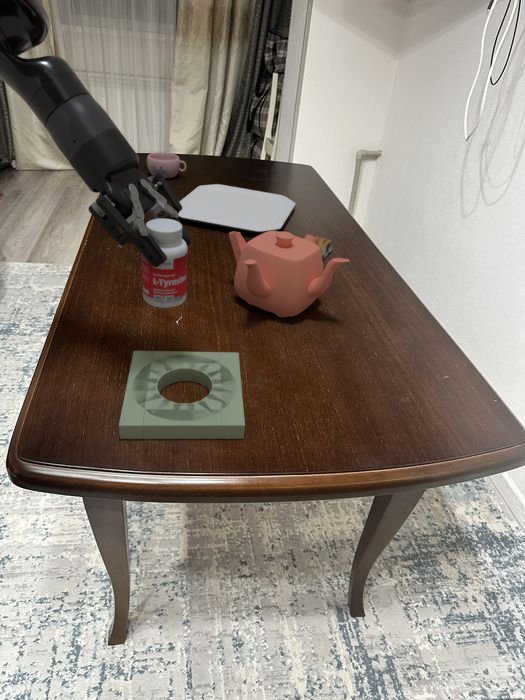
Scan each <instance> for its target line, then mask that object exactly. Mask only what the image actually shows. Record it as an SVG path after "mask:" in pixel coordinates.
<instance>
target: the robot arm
mask: <svg viewBox="0 0 525 700" xmlns="http://www.w3.org/2000/svg"><path fill="white" fill-rule="evenodd" d="M50 24H51V23H50V19H49V15H48V12H47V10H46V8H45V7H44V4H43V3H42V1H41V0H0V80H1V81H2V82H4V83H5V84H6V85H7V86H8V87H9V88H11V89H12V90H13V91H14V92H15V94H17V95H18V96H19V97H20V98H21V99H22V100H23V101H24V102H25V104H26V105H27V106H28V108H29V109H30V110H31V111H32V113H33V114H34V116H35V117H36V118H37V120H39V122H40V123H41V124H42V126H43V127H44V128H45V130H46V131H47V132H48V134H49V136H50V137H51V139H52V141H53V142H54V144H55V145H56V147H57V148H58V150H59V152H61V153H62V155H63V156H64V158H65V160H67V161H68V163H69V165H70V166H71V167H72V168H73V169H74V170H75V172H76V173H77V174H78V176H79V177H80V178H81V180H82V181H83V183H84V184H85V185H86V186H87V188H88V189H89V190H90V191H91V192H93V193H94V194H95V193H96V194H97V193H99V196H97V198H96V199H95V200H94V201H93V202H92V203H91V204H90V205H89V206H88V207H87V208H88V211H89V213H90V214H91V215H92V216H93V217H94V219H95V220H96V221H97V222H98V223H99V224H100V225H101V226H102V227H103V228H104V229H105V230H106V232H107V233H108V234H109V235H110V236H111V237H112V238H113V239H114V240H115V242H117V244H118V245H119V246H122V247H124V246H125V245H132V246H135V247H136V248H137V249H138V250H139V252H140V254H141V253H142V254H143V255H144V257H145V258H146V259H147V261H148V262H149V263H150V264H152V265H153V266H154V267H158V266H160V265H161V264H162V263H164V262H165V261H166V260H167V256H166V255H165V254H164V252H163V251H162V250H161V248H160V247H159V246H158V244H157V243H156V242H155V240H154V239H153V238H152V236H151V235H149V236H147V235H148V232H147V229H146V223H145V221H144V220H145V216H146V217H147V218H149V219H172V220H175V221H178V222H179V223H181V225H182V239H183V240H184V241H185V242H186V244H187V247H189V246H190V245H191V244H193V242H194V240H193V237H192V236H191V234H190V233H189V231H188V230H187V229H186V227H185V226H184V224H183V223H182V222H181V220H180V217H179V212H180V211H181V210H182V205H181V204H180V200H179V199H178V198H177V196H176V194H175V192H174V191H173V189H172V187H171V186H170V185H169V183H168V182H167V180H166V178H164V177H163V175H162V174H161V173H160V172H157V173H156V174H155V175H151V176H147V175H146V174H145V173H143V172H142V171H141V170H140V169H139V162H140V157H139V155H138V153H137V152H136V150H134V148H133V147H132V145H131V144H130V142H129V141H128V140H127V138H126V137H125V136H124V134H123V133H122V131H121V130H120V129H119V128H118V126H117V125H116V124H115V122H114V121H113V119H112V118H111V116H110V115H109V114H108V112H107V111H106V110H105V109H104V108H103V107H102V105H101V104H100V103H99V102H98V101H97V100H96V99H95V98H94V97H93V95H92V94H91V93H90V91H89V90H88V89H87V87H86V86H85V84H84V83H83V82H82V80H81V79H80V78H79V76H78V75H77V73H76V72H75V70H74V69H73V68H72V66H71V65H70V64H69V63H68V61H66V60H65V59H64V58H62V57H61V56H58V55H43V56H39V57H33V58H31V57H30V58H26V57H25V58H24V57H21V55H23V54H25V53H27V52H28V51H30V50H33V49H35V48H37V47H39V46H40V45H41V44H43V43H44V42H45V41H46V39H47V38H48V35H49V32H50V27H51V25H50ZM168 201H169V202H170V204H171V205H170V204H168V203H167V202H168ZM155 202H156V203H155ZM162 213H163V214H162ZM117 226H118V227H119V228H120V229H121V231H122V232H121V231H120V229H118V228H117Z"/></svg>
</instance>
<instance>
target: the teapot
mask: <svg viewBox="0 0 525 700" xmlns="http://www.w3.org/2000/svg"><path fill="white" fill-rule="evenodd" d="M304 236H305V238H304V239H302V238H300V237H301V236H297V235H294V233H291V232H289V231H280V230H277V231H268V232H263V233H260V234H259V235H257V236H255V237H253V238H252V239H250V240H248V241H247V242H246V240H245V238H244V237H243V235H242V234H241V231H235V230H233V231H230V232H229V233H228V237H229V242H230V244H231V248H232V251H233V254H234V258H235V262H236V268H235V271H234V279H233V286H234V289H235V292H236V294H237V296H238V297H239V298H240V299H242V300H243V301H245V302H246V303H247V304H248V305H250V306H254V307H256V308H259V309H261V310H263V311H267V312H270V313H273V314H275V316H277V317H279V318H287V317H295V316H297V315H299V314H301V313H302V312H303V311H305V310H306V309H307V308H308V307H310V306H311V305H312V304H313V303H314V302H315V301H316V300H317V299H318V298H319V296H322V295H323V294H324V293H325V292H326V291H327V290H328V289H329V287H330V285H331V283H332V280H333V277H334V274H335V273H336V270H337V269H338V267H340V266H341V265H343V264H346V263H349V262H350V259H349V258H343V257H335V258H332V259H330V260H329V261H328V262H327V263H326V265H325V267H324V262H323V259H322V255H321V250H320V247H319V246H318V245H316V244H317V242H318V240H317V238H315V235H312V234H308V233H307V234H305V235H304Z"/></svg>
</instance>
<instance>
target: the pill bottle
mask: <svg viewBox="0 0 525 700" xmlns="http://www.w3.org/2000/svg"><path fill="white" fill-rule="evenodd" d="M181 223H182V222H181ZM181 223H179V222H178V221H175V220H172V219H155V218H152V219H151V220H148V221H147V222H146V223H145V227H146V229H147V232H148V235H147V236H149V235H151V236H152V238H153V239H154V240H155V242H156V243H157V244H158V246H159V247H160V248H161V250H162V251H163V252H164V254H165V255H166V256H167V260H166V261H165V262H164V263H162V264H161V265H160V266H158V267H154V266H153V265H152V264H150V263H149V262H148V261H147V259H146V258H145V257H144V255H143V254H142V253H141V252H140V256H141V257H140V258H141V259H140V261H141V286H142V288H141V289H142V298H143V300H144V301H145V303H147V304H148V305H150V306H152V307H155V308H162V309H169V308H174V307H178V306H180V305H182V304H183V303H185V301H186V299H187V293H188V292H187V291H188V290H187V288H188V255H189V253H188V252H189V251H188V248H189V247H188V246H187V244H186V242H185V241H184V240H183V239H182V225H181Z"/></svg>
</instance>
